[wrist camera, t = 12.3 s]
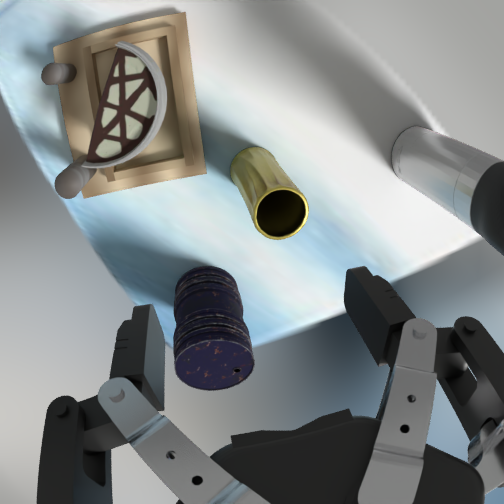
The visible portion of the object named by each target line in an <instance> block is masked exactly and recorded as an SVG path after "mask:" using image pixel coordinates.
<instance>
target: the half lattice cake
mask: <svg viewBox="0 0 504 504" xmlns="http://www.w3.org/2000/svg"><path fill="white" fill-rule="evenodd" d="M115 45H116V46H117V47H118V49H117V52H116V54H115V57H114V61H113V64H112V67H111V70H110V73H109V76H108V79H107V82H106V85H105V88H104V91H103V94H102V97H101V100H100V103H99V106H98V110H97V115H96V119H95V123H94V128H93V132H92V136H91V140H90V145H89V149H88V154H87V159H86V161H85V162H84V163H83V164H82V165H81V166H83V167H86V168H105V167H111V166H114V165H117V164H120V163H123V162H125V161H127V160H129V159H131V158H133V157H135V156H136V155H137V154H139V153H140V152H142V151H143V150H144V149H145V148H146V147H147V146H148V145H149V144H150V142H151V141H152V140H153V139H154V137H155V136H156V134H157V132H158V131H159V129H160V127H161V124H162V122H163V120H164V116H165V112H166V106H167V89H166V84H165V80H164V77H163V75H162V72H161V70H160V68H159V67H158V65H157V64H156V62H155V61H154V60H153V58H152V57H151V56H150V55H149V54H148V53H146V52H145V51H144V50H142V49H141V48H140V47H138V46H135V45H133V44H131V43H128V42H125V41H120V42H118V43H117V44H115Z"/></svg>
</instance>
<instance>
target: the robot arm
mask: <svg viewBox="0 0 504 504" xmlns="http://www.w3.org/2000/svg"><path fill="white" fill-rule="evenodd" d="M392 165H393V169H394V171H395V174H396V175H397V176H398V178H400V179H401V180H402V181H404V182H405V183H407V184H408V185H410V186H411V187H413V188H415V189H416V190H417V191H419V192H421V193H422V194H424V195H425V196H427V197H428V198H430V199H431V200H433V201H434V202H436V203H437V204H438V205H440V206H441V207H443V208H444V209H446V210H447V211H449V212H450V213H451V214H453V215H454V216H456V217H457V218H458V219H460V220H461V221H463V222H464V223H465V224H467V225H468V226H469V227H471V228H472V229H473V230H475V231H476V232H477V233H478V234H480V235H481V236H482V237H484V238H485V240H486V241H487V242H488V243H489V244H490V245H492V246H493V247H494V248H495V249H496V250H497V251H499V252H500V253H501V254H502V255H503V256H504V161H503V160H501V159H498V158H497V157H495V156H492V155H490V154H488V153H485V152H483V151H481V150H479V149H476V148H474V147H472V146H469V145H467V144H465V143H462V142H460V141H457V140H455V139H452V138H450V137H447V136H445V135H442V134H440V133H437V132H434V131H432V130H429V129H426V128H423V127H419V126H414V127H410V128H408V129H406V130H405V131H404V132H402V133H401V134H400V136H399V137H398V138H397V140H396V142H395V144H394V147H393V150H392ZM344 304H345V308H346V311H347V313H348V314H349V316H350V318H351V320H352V321H353V323H354V325H355V326H356V328H357V330H358V332H359V333H360V335H361V337H362V338H363V340H364V342H365V344H366V345H367V347H368V349H369V351H370V353H371V354H372V356H373V358H374V360H375V361H376V363H377V365H378V366H383V365H386V364H388V365H389V367H390V370H389V373H388V378H387V381H386V385H385V389H384V393H383V396H382V399H381V403H380V406H379V410H378V413H377V415H376V418H371V417H366V416H352V415H351V412H350V410H349V409H346V410H342V411H339V412H335V413H332V414H328V415H325V416H322V417H319V418H317V419H315V420H314V421H312V422H310V423H308V424H306V425H304V426H302V427H300V428H298V429H296V430H292V431H264V430H261V431H255V432H250V433H244V434H238V435H232V436H231V440H232V444H229V445H227V446H225V447H223V448H221V449H219V450H218V451H216V452H215V453H214V454H213V455H211V456H210V457H209V456H207V455H206V454H205V453H204V452H203V451H202V450H201V449H200V448H198V447H197V446H196V445H195V444H194V443H193V442H192V441H191V440H190V439H189V438H187V436H186V435H184V434H183V433H182V432H181V431H180V430H179V429H178V428H177V427H176V426H175V425H174V424H173V423H172V422H171V421H170V420H169V419H168V418H167V417H166V416H164V415H163V416H162V415H161V414H159V412H158V411H164V374H165V373H164V372H165V339H164V334H163V331H162V328H161V325H160V322H159V320H158V317H157V314H156V312H155V309H154V306H153V305H152V304H148V305H141V306H135V307H134V308H133V314H132V319H131V320H125V321H124V322H123V323H122V325H121V326H120V328H119V329H118V332H117V337H116V343H115V350H114V354H113V359H112V365H111V372H110V378H109V380H108V381H106V382H105V383H104V384H103V385H102V386H101V387H100V389H99V392H98V395H96V396H94V397H91V398H89V399H86V400H83V401H80V402H77V401H76V400H75V399H74V398H73V397H71V396H61V397H58V398H56V399H55V400H53V401H52V402H51V404H50V405H49V407H48V409H47V413H46V419H45V426H44V432H43V439H42V447H41V455H40V464H39V475H38V487H37V504H113V500H112V474H111V449H113V448H115V447H118V446H121V445H124V444H127V443H130V445H131V446H132V447H133V448H134V450H135V451H136V452H137V453H138V455H139V456H140V457H141V458H142V459H143V460H144V462H145V463H146V464H147V465H148V466H149V467H150V468H151V469H152V471H153V472H154V473H155V474H156V475H157V476H158V477H159V478H160V479H161V480H162V481H163V483H164V484H165V485H166V486H167V487H168V488H169V489H170V490H171V491H172V492H173V493H174V494H175V495H176V496H177V497H178V498H179V500H178V502H177V503H176V504H484V500H485V494H487V493H488V492H490V491H491V490H493V489H495V488H496V487H504V353H503V352H502V350H501V349H500V348H499V346H498V345H497V344H496V342H495V341H494V340H493V338H492V337H491V336H490V334H489V333H488V332H487V330H486V329H485V328H484V327H483V325H482V324H481V323H480V322H479V321H478V320H476V319H474V318H472V317H466V316H465V317H460V318H458V319H457V320H456V322H455V324H454V326H453V327H448V328H435V326H434V325H433V324H432V323H430V322H429V321H427V320H425V319H421V318H416V317H415V315H414V314H413V313H412V312H411V310H410V309H409V308H408V306H407V305H406V304H405V303H404V301H403V300H402V299H401V298H400V297H399V295H398V294H397V292H396V291H395V290H393V287H392V286H391V285H390V284H389V282H388V281H386V280H385V279H383V278H382V277H380V276H378V275H376V276H373V275H372V274H371V272H370V271H369V270H368V269H367V267H365V266H361V267H356V268H352V269H348V270H347V272H346V281H345V292H344ZM468 366H469V368H470V369H471V370H472V372H473V374H474V375H475V377H476V379H477V381H476V379H475V378H474V376H473V374H472V373H471V371H470V370H469V368H468ZM436 379H437V380H438V381H439V383H440V385H441V387H442V388H443V390H444V392H445V394H446V396H447V398H448V399H449V401H450V403H451V405H452V407H453V409H454V410H455V412H456V414H457V416H458V418H459V420H460V422H461V424H462V426H463V428H464V430H465V432H466V434H467V436H468V438H469V440H470V443H469V446H468V462H469V463H467V462H465V461H463V460H461V459H458V458H456V457H454V456H452V455H450V454H448V453H445V452H443V451H441V450H439V449H437V448H435V447H433V446H431V445H428V444H426V439H427V435H428V430H429V425H430V419H431V413H432V407H433V401H434V394H435V387H436Z"/></svg>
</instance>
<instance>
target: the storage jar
mask: <svg viewBox="0 0 504 504" xmlns="http://www.w3.org/2000/svg"><path fill="white" fill-rule="evenodd" d="M174 317H175V321H176V329H175V333H174V337H173V341H174V358H175V361H174V364H175V372H176V375H177V376H178V378H179V379H180V380H181V381H182V382H184V383H185V384H187V385H188V386H191V387H193V388H196V389H200V390H208V391H214V390H223V389H228V388H231V387H234V386H235V385H238V384H240V383H242V382H243V381H244V380H246V379H247V378H248V377H249V376H250V374H251V373H252V371H253V369H254V365H255V360H254V356H253V353H252V344H251V340H250V336H249V331H248V328H247V326H246V324H245V323H244V321H243V305H242V301H241V297H240V293H239V291H238V287H237V284H236V281H235V279H234V278H233V277H232V276H231V275H230V274H229V273H228V272H226V271H225V270H223V269H221V268H217V267H212V266H203V267H198V268H194V269H192V270H190V271H188V272H187V273H185V274H184V275H183V276H182V277H181V278H180V279H179V281H178V283H177V285H176V290H175V300H174Z"/></svg>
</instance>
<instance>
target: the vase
mask: <svg viewBox="0 0 504 504" xmlns="http://www.w3.org/2000/svg"><path fill="white" fill-rule="evenodd" d="M230 173H231V178H232V181H233V182H234V184H235V185H236V186H237V187H238V189H239V191H240V193H241V195H242V197H243V199H244V201H245V203H246V205H247V208H248V210H249V213H250V215H251V218H252V220H253V223H254V225H255V228H256V229H257V230H258V231H259V232H260V233H261V234H262V235H264V236H265V237H267V238H269V239H274V240H281V239H285V238H288V237H291V236H293V235H295V234H296V233H297V232H298V231H299V230H300V229H301V228H302V227H303V226H304V224H305V222H306V221H307V218H308V213H309V207H308V203H307V200H306V198H305V196H304V195H303V193H302V192H301V191H300V190H299V189H298V188H297V187H296V185H295V184H294V183H293V182H292V181H291V179H290V178H289V177H288V176H287V175H286V173H285V172H284V171H283V169H282V168H281V167H280V166H279V164H278V163H277V161H276V160H275V158H274V156H273V155H272V154H271V153H270V152H269V151H267V150H265V149H263V148H260V147H250V148H247V149H244V150H243V151H241V152H239V153H238V154H237V155H236V157H235V158H234V159H233V161H232V164H231V168H230Z"/></svg>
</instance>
